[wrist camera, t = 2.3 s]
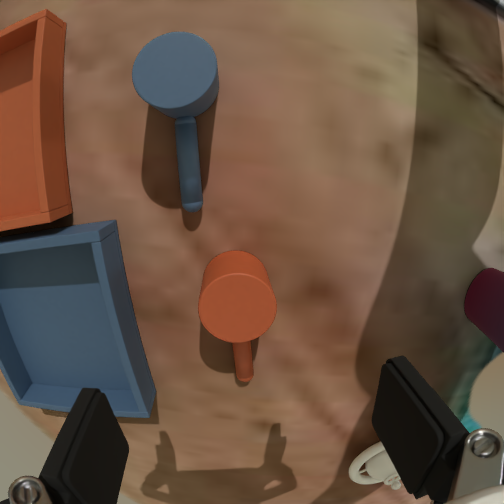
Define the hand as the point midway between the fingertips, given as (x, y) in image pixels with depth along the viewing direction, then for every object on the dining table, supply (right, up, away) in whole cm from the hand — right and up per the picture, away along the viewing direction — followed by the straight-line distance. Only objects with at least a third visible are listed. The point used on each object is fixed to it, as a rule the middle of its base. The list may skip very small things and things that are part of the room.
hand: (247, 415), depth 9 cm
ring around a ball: (+14, -15, +17) cm, 27 cm away
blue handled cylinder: (-4, +12, +8) cm, 15 cm away
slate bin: (-14, 0, +10) cm, 17 cm away
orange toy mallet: (-1, +1, +11) cm, 11 cm away
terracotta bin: (-18, +13, +6) cm, 23 cm away
